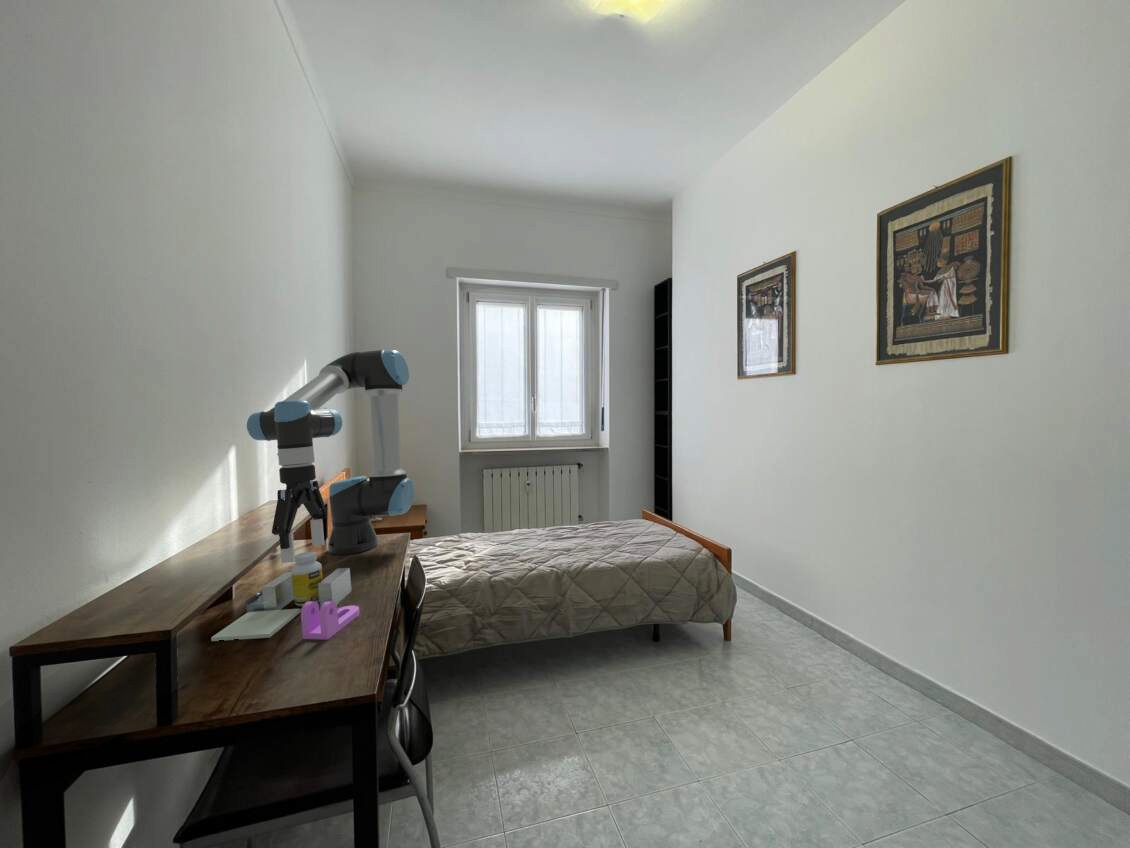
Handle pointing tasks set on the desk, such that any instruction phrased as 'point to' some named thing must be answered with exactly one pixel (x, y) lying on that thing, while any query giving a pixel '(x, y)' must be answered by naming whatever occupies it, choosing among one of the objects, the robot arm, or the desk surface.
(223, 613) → the desk surface
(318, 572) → the pill bottle
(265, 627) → the mat
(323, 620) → the bracket
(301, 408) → the robot arm
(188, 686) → the desk surface
